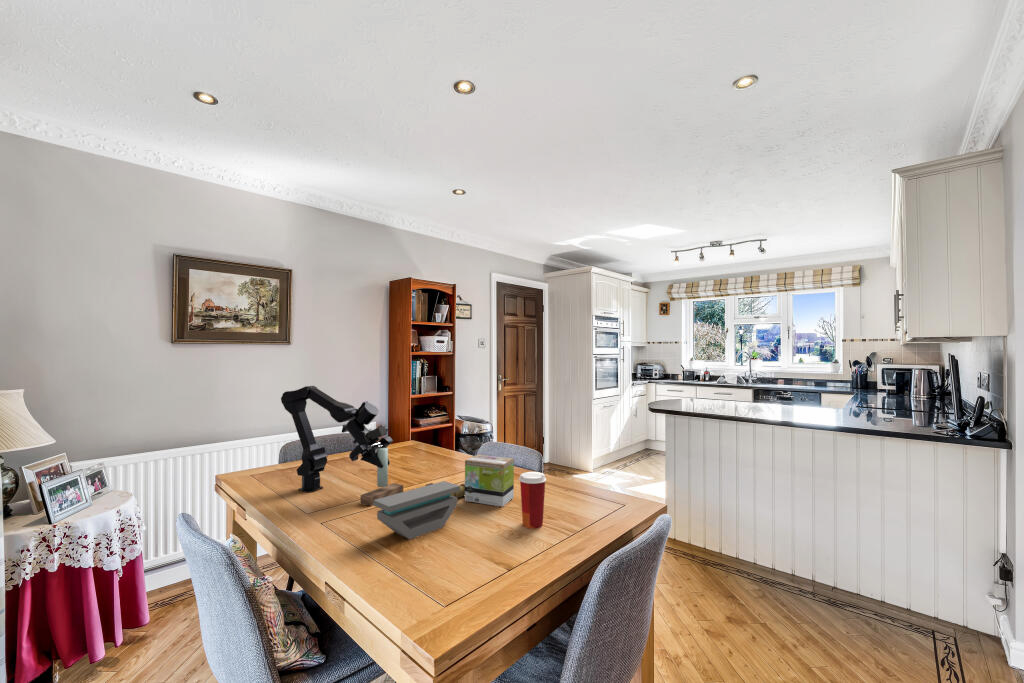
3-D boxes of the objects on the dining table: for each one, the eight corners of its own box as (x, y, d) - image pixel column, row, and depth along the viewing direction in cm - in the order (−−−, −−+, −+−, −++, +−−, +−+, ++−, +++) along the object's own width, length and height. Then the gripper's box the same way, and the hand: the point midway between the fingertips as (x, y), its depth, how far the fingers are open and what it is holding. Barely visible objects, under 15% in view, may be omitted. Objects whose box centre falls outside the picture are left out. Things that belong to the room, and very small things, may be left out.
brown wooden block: (370, 506, 151) (371, 497, 151) (360, 504, 153) (360, 495, 153) (403, 493, 165) (403, 485, 165) (393, 491, 167) (393, 483, 167)
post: (376, 487, 157) (376, 450, 158) (378, 484, 161) (378, 448, 161) (386, 487, 157) (386, 450, 158) (388, 484, 161) (388, 447, 161)
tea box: (463, 502, 155) (463, 459, 155) (476, 493, 164) (476, 453, 165) (503, 507, 149) (503, 463, 150) (514, 498, 159) (514, 457, 159)
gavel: (414, 482, 169) (435, 476, 176) (415, 494, 169) (436, 488, 176) (449, 490, 155) (470, 483, 162) (450, 503, 154) (471, 496, 162)
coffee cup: (549, 521, 137) (549, 472, 137) (542, 531, 129) (542, 479, 130) (523, 518, 140) (523, 470, 140) (515, 528, 132) (514, 477, 132)
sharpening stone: (388, 547, 119) (389, 506, 119) (373, 539, 124) (373, 500, 125) (459, 521, 137) (460, 485, 138) (443, 515, 143) (443, 481, 143)
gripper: (356, 422, 152) (383, 457, 148) (388, 415, 170) (413, 445, 166) (337, 443, 155) (363, 478, 151) (371, 434, 172) (395, 465, 168)
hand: (385, 466), depth 159 cm, fingers closed on post, 4 cm apart
